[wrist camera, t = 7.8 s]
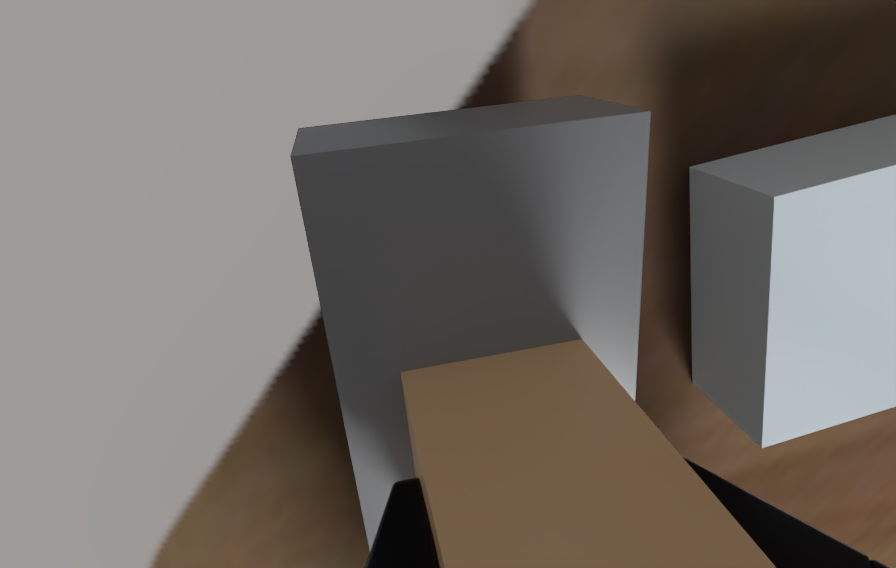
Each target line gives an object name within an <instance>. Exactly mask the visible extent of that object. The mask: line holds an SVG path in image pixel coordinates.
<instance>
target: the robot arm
mask: <svg viewBox="0 0 896 568" xmlns="http://www.w3.org/2000/svg"><path fill="white" fill-rule="evenodd" d="M683 458H684V457H683ZM684 460H685V461H686V462H687V463H688V464H689V465H690V467H691V468H692V469H693V470H694V471H695V473H696V474H697V475H698V476H699V477H700V478H701V480H702V481H703V482H704V483H705V484H706V485H707V487H708V488H709V489H710V490H711V491H712V493H713V494H714V495H715V496H716V497H717V498H718V500H719V501H720V502H721V503H722V504H723V505H724V507H725V508H726V509H727V510H728V511H729V513H730V514H731V515H732V516H733V517H734V518H735V520H736V521H737V522H738V523H739V524H740V525H741V527H742V528H743V529H744V530H745V531H746V533H747V534H748V535H749V536H750V537H751V538H752V540H753V541H754V542H755V543H756V544H757V545H758V547H759V548H760V549H761V550H762V551H763V553H764V554H765V555H766V556H767V557H768V558H769V560H770V561H771V562H772V563H773V564H774V565H775V567H776V568H889V567H887V566H886V565H884V564H882V563H880V562H878V561H876V560H869V558H868V557H867V556H866V555H865V554H863V553H861V552H859V551H857V550H855V549H853V548H852V547H850V546H848V545H846V544H844V543H842V542H840V541H839V540H837V539H835V538H833V537H831V536H829V535H827V534H825V533H824V532H822V531H820V530H818V529H816V528H814V527H812V526H811V525H809V524H807V523H805V522H803V521H801V520H799V519H797V518H796V517H794V516H792V515H790V514H788V513H786V512H784V511H783V510H781V509H779V508H777V507H775V506H773V505H771V504H769V503H768V502H766V501H764V500H762V499H760V498H758V497H756V496H755V495H753V494H751V493H749V492H747V491H745V490H743V489H742V488H740V487H738V486H736V485H734V484H732V483H730V482H728V481H727V480H725V479H723V478H721V477H719V476H717V475H715V474H714V473H712V472H710V471H708V470H706V469H704V468H702V467H700V466H699V465H697V464H695V463H693V462H691V461H689V460H687V459H686V458H684ZM365 568H438V561H437V553H436V548H435V543H434V539H433V534H432V530H431V526H430V521H429V517H428V513H427V508H426V504H425V500H424V495H423V491H422V487H421V483H420V479H419V478H418V477H416V478H411V479H406V480H401V481H397V482H395V483H394V484H393V486H392V489H391V492H390V495H389V498H388V501H387V503H386V506H385V509H384V512H383V515H382V518H381V521H380V524H379V527H378V530H377V533H376V536H375V539H374V542H373V545H372V548H371V551H370V554H369V557H368V560H367V563H366V566H365Z"/></svg>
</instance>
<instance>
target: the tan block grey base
mask: <svg viewBox="0 0 896 568" xmlns="http://www.w3.org/2000/svg"><path fill="white" fill-rule="evenodd" d="M650 116H651V111H648V110H644V109H639V108H635V107H631V106H626V105H622V104H617V103H613V102H609V101H604V100H600V99H596V98H591V97H587V96H583V95H575V96H567V97H558V98H550V99H541V100H533V101H525V102H516V103H508V104H499V105H491V106H483V107H474V108H466V109H457V110H449V111H442V112H432V113H424V114H416V115H407V116H399V117H390V118H382V119H373V120H365V121H357V122H348V123H340V124H331V125H323V126H315V127H306V128H299V129H298V132H297V136H296V139H295V143H294V146H293V150H292V153H291V161H292V165H293V171H294V176H295V180H296V186H297V191H298V196H299V201H300V206H301V210H302V216H303V221H304V225H305V231H306V236H307V241H308V246H309V251H310V256H311V261H312V265H313V271H314V276H315V280H316V286H317V291H318V296H319V300H320V305H321V310H322V315H323V320H324V325H325V330H326V335H327V340H328V345H329V350H330V355H331V360H332V365H333V370H334V375H335V380H336V385H337V390H338V395H339V400H340V405H341V410H342V415H343V420H344V425H345V430H346V435H347V440H348V445H349V450H350V455H351V460H352V465H353V470H354V475H355V480H356V485H357V490H358V495H359V500H360V505H361V510H362V515H363V520H364V525H365V530H366V535H367V540H368V545H369V550H370V551H371V548H372V545H373V542H374V539H375V536H376V533H377V530H378V527H379V524H380V521H381V518H382V515H383V512H384V509H385V506H386V503H387V501H388V498H389V495H390V492H391V489H392V486H393V484H394V483H395V482H397V481H401V480H406V479H411V478H416V477H418V478H419V479H420V483H421V487H422V491H423V495H424V500H425V504H426V508H427V513H428V517H429V521H430V526H431V530H432V534H433V539H434V543H435V548H436V553H437V561H438V568H776V567H775V565H774V564H773V563H772V562H771V561H770V560H769V558H768V557H767V556H766V555H765V554H764V553H763V551H762V550H761V549H760V548H759V547H758V545H757V544H756V543H755V542H754V541H753V540H752V538H751V537H750V536H749V535H748V534H747V533H746V531H745V530H744V529H743V528H742V527H741V525H740V524H739V523H738V522H737V521H736V520H735V518H734V517H733V516H732V515H731V514H730V513H729V511H728V510H727V509H726V508H725V507H724V505H723V504H722V503H721V502H720V501H719V500H718V498H717V497H716V496H715V495H714V494H713V493H712V491H711V490H710V489H709V488H708V487H707V485H706V484H705V483H704V482H703V481H702V480H701V478H700V477H699V476H698V475H697V474H696V473H695V471H694V470H693V469H692V468H691V467H690V465H689V464H688V463H687V462H686V461H685V460H684V458H683V457H682V456H681V455H680V454H679V453H678V451H677V450H676V449H675V448H674V447H673V445H672V444H671V443H670V442H669V441H668V440H667V438H666V437H665V436H664V435H663V434H662V432H661V431H660V430H659V429H658V428H657V427H656V425H655V424H654V423H653V422H652V421H651V420H650V418H649V417H648V416H647V415H646V414H645V412H644V411H643V410H642V409H641V408H640V407H639V405H638V404H637V403H636V402H635V395H636V376H637V357H638V339H639V320H640V302H641V283H642V264H643V246H644V227H645V209H646V190H647V171H648V153H649V134H650Z"/></svg>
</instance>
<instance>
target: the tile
mask: <svg viewBox="0 0 896 568" xmlns="http://www.w3.org/2000/svg"><path fill="white" fill-rule="evenodd" d="M689 176H690V250H691V325H692V383H693V384H694V385H695V386H696V387H697V388H698V389H699V390H700V391H701V392H702V393H703V394H704V395H705V396H706V397H708V398H709V399H710V400H711V401H712V402H713V403H714V404H715V405H716V406H717V407H718V408H719V409H720V410H721V411H722V412H724V413H725V414H726V415H727V416H728V417H729V418H730V419H731V420H732V421H733V422H734V423H735V424H736V425H737V426H738V427H740V428H741V429H742V430H743V431H744V432H745V433H746V434H747V435H748V436H749V437H750V438H751V439H752V440H753V441H755V442H756V443H757V444H758V445H759V446H760V447H761V448H764V447H767V446H771V445H774V444H777V443H780V442H783V441H787V440H790V439H793V438H796V437H799V436H803V435H806V434H809V433H812V432H815V431H819V430H822V429H825V428H828V427H831V426H835V425H838V424H841V423H844V422H847V421H851V420H854V419H857V418H860V417H863V416H867V415H870V414H873V413H876V412H879V411H883V410H886V409H889V408H892V407H895V406H896V114H895V115H891V116H887V117H883V118H879V119H876V120H872V121H868V122H864V123H860V124H856V125H852V126H848V127H844V128H840V129H836V130H832V131H828V132H824V133H821V134H817V135H813V136H809V137H805V138H801V139H797V140H793V141H789V142H785V143H781V144H777V145H773V146H769V147H766V148H762V149H758V150H754V151H750V152H746V153H742V154H738V155H734V156H730V157H726V158H722V159H718V160H715V161H711V162H707V163H703V164H699V165H695V166H691V167H689Z"/></svg>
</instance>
